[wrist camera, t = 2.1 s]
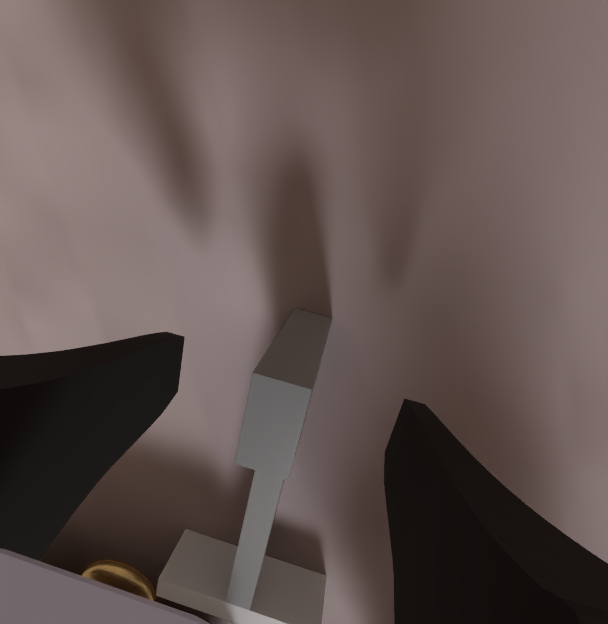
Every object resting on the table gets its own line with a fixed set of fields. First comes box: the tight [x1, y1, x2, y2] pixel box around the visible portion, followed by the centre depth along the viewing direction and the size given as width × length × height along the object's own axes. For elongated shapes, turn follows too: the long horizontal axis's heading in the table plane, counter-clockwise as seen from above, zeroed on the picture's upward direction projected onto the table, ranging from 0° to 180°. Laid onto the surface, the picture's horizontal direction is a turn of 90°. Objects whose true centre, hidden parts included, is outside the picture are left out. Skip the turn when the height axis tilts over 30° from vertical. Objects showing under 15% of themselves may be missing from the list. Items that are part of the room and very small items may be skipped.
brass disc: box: [81, 560, 158, 602], centre depth 22 cm, size 5×5×1 cm
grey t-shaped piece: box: [156, 308, 332, 624], centre depth 14 cm, size 8×15×6 cm, turn 167°
